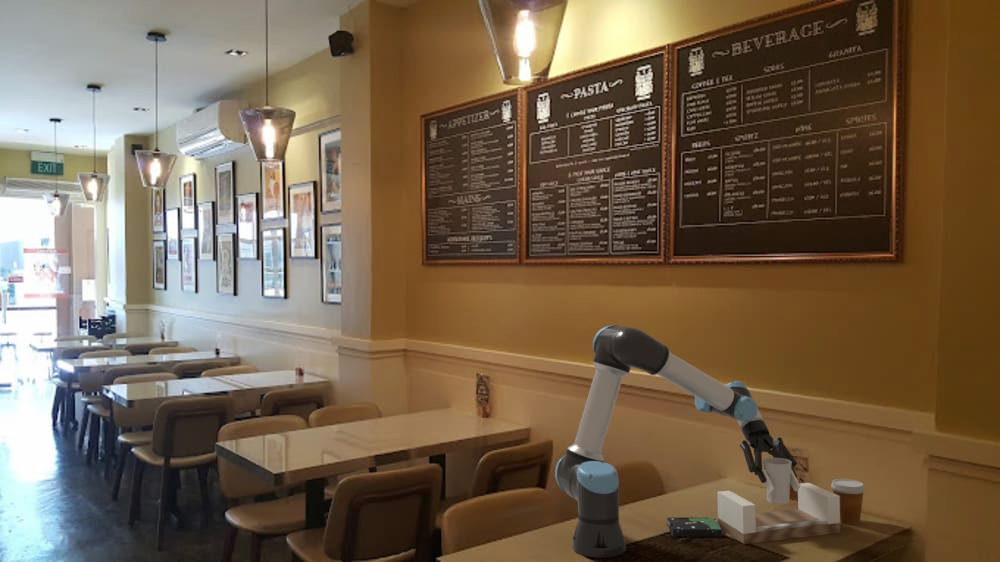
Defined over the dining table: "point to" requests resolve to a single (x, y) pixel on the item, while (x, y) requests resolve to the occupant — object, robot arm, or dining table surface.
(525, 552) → the dining table surface
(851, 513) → the disposable coffee cup
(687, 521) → the disk drive
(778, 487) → the cup
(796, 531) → the board
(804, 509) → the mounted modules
